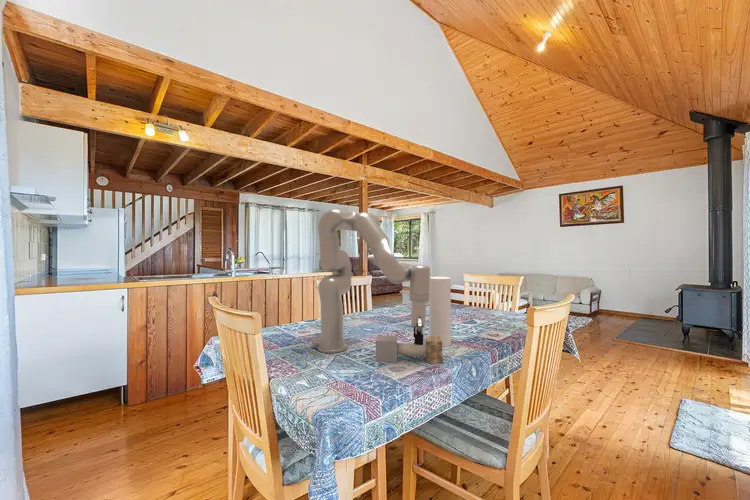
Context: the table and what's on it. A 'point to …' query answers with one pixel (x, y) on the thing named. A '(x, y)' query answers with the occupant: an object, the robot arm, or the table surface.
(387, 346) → the grey block
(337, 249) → the robot arm
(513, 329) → the table surface
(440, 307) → the cylinder container
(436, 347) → the socket
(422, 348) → the tube
